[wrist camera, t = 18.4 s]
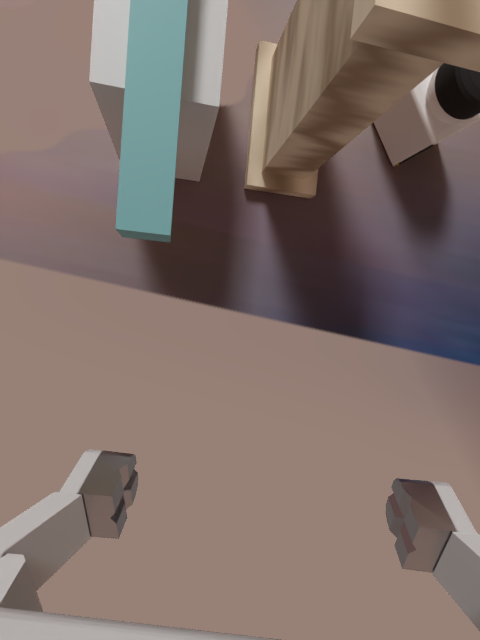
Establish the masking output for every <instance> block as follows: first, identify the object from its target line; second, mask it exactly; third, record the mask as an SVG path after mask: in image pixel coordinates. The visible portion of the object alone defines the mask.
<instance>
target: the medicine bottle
mask: <svg viewBox="0 0 480 640" xmlns="http://www.w3.org/2000/svg"><path fill="white" fill-rule="evenodd" d="M478 120H480V72H477V71H473V70H469V69H466V68H462V67H458V66H454V65H450V64H446V63H443V64H442V65H441V66H440V67H439V68H438V69H436V70H435V71H434V72H433V73H432V74H430V75H429V76H428V77H427V78H426V79H424V80H423V81H422V82H421V83H420V84H418V85H417V86H416V87H415V88H414V89H412V90H411V91H410V92H409V93H408V94H406V95H405V96H404V97H403V98H402V99H400V100H399V101H398V102H397V103H396V104H394V105H393V106H392V107H391V108H390V109H388V110H387V111H386V112H385V113H384V114H382V115H381V116H380V117H379V118H378V119H376V120H375V121H374V125H375V127H376V129H377V132H378V134H379V136H380V138H381V141H382V143H383V145H384V147H385V150H386V152H387V154H388V157H389V159H390V161H391V163H392V165H393V166H394V167H395V166H398V165H400V164H401V163H403V162H405V161H407V160H409V159H410V158H412V157H414V156H416V155H417V154H419V153H421V152H423V151H425V150H426V149H428V148H430V147H432V146H434V145H435V144H437V143H439V142H441V141H443V140H444V139H446V138H448V137H450V136H452V135H453V134H455V133H457V132H459V131H461V130H462V129H464V128H466V127H468V126H470V125H471V124H473V123H475V122H477V121H478Z"/></svg>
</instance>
